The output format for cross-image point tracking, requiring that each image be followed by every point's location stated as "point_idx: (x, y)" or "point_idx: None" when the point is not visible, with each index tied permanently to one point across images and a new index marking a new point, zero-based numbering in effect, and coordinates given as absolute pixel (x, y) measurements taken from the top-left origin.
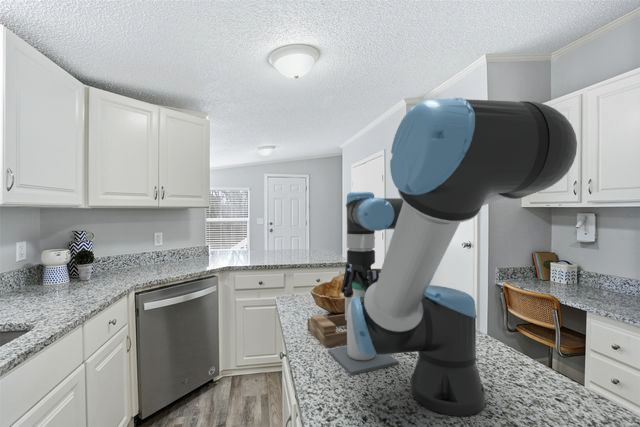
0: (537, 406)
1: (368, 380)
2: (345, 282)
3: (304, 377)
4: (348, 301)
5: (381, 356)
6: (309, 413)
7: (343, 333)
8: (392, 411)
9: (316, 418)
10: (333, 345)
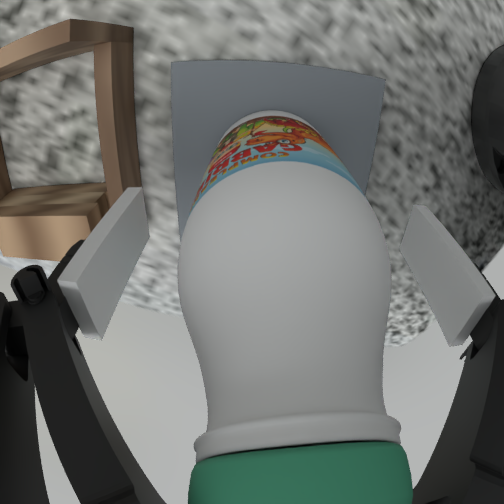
0: None
1: (395, 221)
2: (35, 435)
3: None
4: (105, 303)
5: (321, 103)
6: (392, 345)
7: (122, 181)
8: (483, 246)
9: (407, 340)
10: None
